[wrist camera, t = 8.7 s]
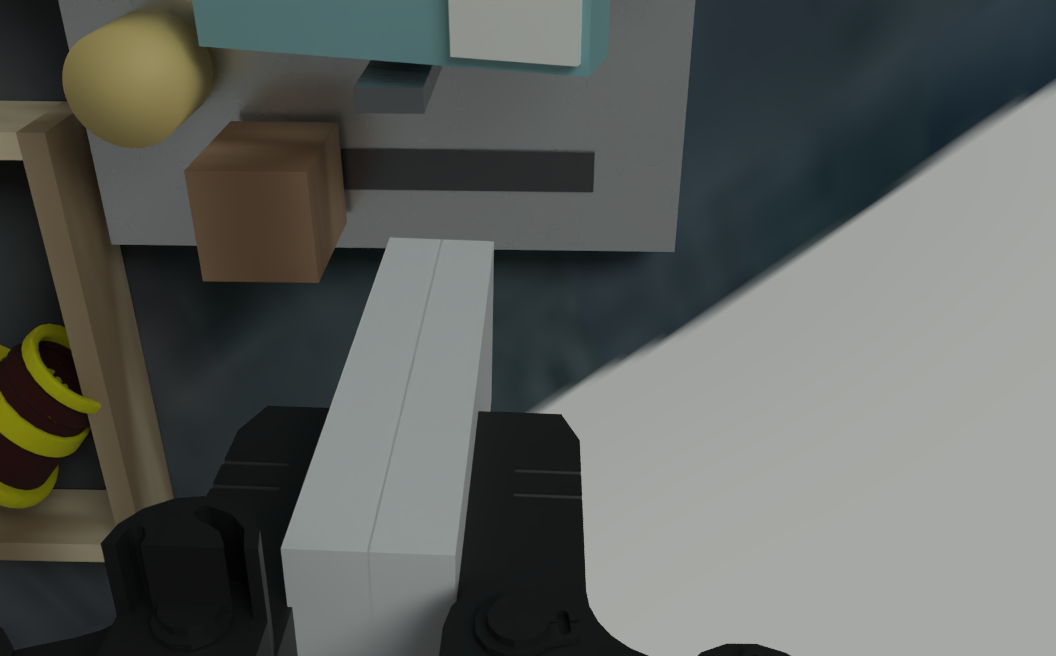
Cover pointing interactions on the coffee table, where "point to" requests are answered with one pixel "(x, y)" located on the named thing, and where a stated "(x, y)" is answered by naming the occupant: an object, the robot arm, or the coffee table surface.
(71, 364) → the opera glasses
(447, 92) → the panel
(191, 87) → the ochre button
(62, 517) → the wooden tray
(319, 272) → the brown rectangular block
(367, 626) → the robot arm
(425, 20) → the block
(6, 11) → the coffee table surface
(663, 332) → the coffee table surface
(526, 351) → the coffee table surface
